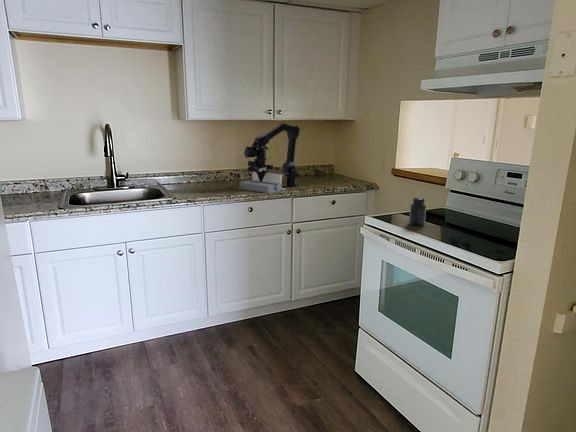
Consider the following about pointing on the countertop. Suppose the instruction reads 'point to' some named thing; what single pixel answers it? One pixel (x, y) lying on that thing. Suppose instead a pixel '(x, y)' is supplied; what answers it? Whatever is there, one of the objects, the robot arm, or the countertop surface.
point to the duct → (261, 186)
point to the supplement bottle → (417, 212)
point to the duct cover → (269, 178)
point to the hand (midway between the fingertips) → (260, 181)
